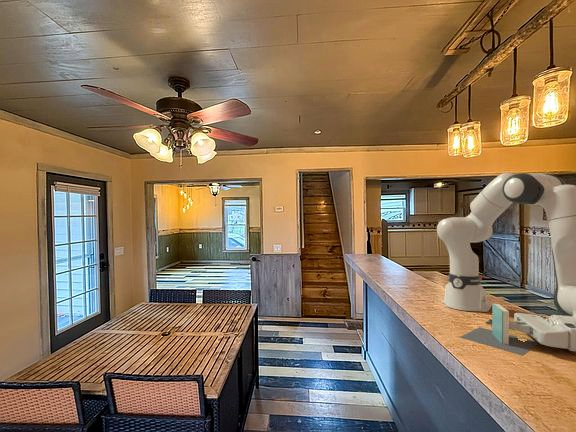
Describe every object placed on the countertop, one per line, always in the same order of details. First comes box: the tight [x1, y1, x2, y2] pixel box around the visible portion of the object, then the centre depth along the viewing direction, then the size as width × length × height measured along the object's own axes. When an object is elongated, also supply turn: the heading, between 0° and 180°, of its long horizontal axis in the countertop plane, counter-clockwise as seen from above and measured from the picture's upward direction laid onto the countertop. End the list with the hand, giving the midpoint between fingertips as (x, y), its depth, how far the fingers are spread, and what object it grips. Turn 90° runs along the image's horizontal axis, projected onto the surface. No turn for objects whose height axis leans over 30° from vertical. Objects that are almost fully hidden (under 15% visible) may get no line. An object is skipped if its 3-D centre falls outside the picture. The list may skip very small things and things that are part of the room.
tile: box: [491, 303, 510, 345], centre depth 102 cm, size 2×9×10 cm, turn 163°
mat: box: [459, 326, 540, 356], centre depth 101 cm, size 16×17×1 cm
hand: (508, 325), depth 101 cm, fingers closed
